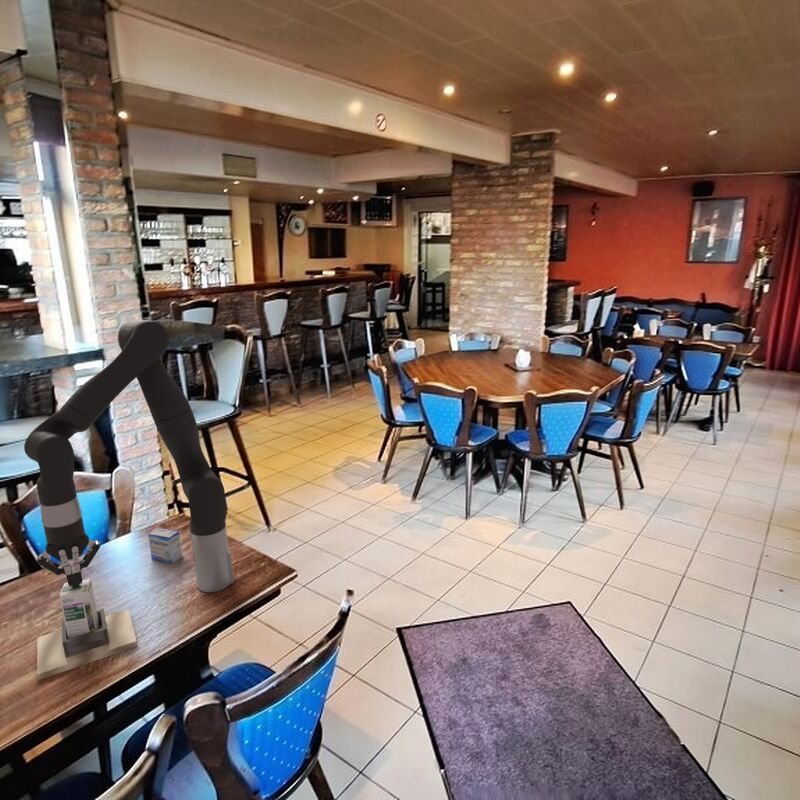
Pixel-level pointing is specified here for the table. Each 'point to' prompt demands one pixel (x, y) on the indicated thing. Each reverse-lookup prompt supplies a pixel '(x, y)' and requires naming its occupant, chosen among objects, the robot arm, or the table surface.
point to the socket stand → (84, 644)
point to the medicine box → (165, 545)
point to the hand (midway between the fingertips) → (75, 585)
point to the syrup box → (79, 609)
